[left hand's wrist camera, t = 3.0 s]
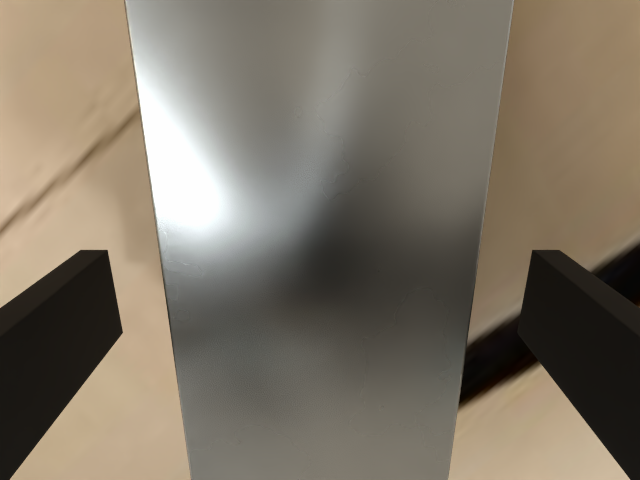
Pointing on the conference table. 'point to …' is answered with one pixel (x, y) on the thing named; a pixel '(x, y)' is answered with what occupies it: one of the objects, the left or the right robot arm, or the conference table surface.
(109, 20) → the conference table surface
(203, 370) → the bar
